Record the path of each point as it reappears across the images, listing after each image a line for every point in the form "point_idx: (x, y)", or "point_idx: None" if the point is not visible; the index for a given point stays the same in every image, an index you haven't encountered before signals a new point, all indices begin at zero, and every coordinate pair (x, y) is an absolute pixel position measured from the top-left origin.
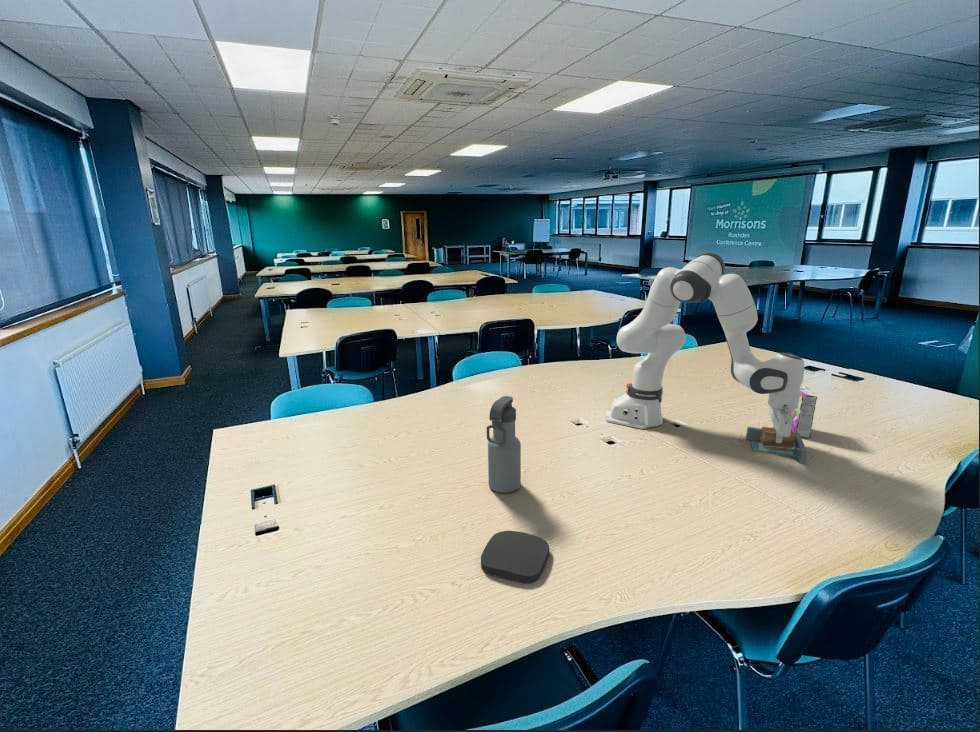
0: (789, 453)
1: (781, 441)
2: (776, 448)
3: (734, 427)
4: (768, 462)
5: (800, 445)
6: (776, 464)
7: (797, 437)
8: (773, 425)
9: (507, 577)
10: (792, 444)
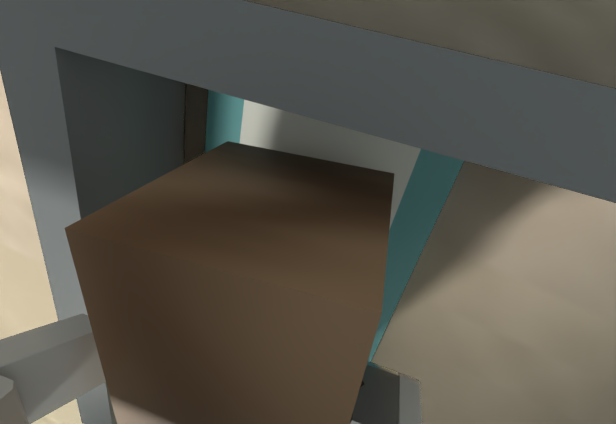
0: (403, 180)
1: (418, 399)
2: None
3: (25, 322)
4: (556, 407)
5: (556, 170)
6: (610, 378)
7: (175, 53)
8: (45, 414)
9: None
10: (388, 206)
